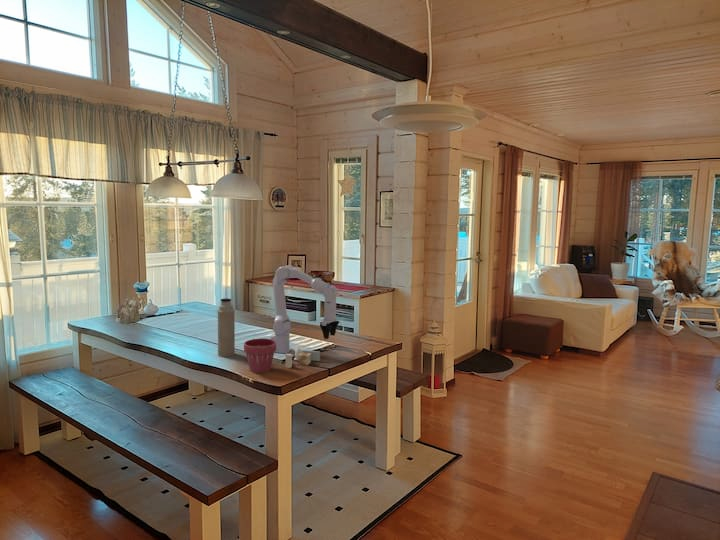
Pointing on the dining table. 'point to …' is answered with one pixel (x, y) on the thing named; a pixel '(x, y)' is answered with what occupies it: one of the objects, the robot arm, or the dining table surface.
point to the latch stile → (288, 360)
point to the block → (304, 358)
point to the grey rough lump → (128, 312)
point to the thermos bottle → (226, 329)
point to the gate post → (297, 353)
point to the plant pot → (260, 354)
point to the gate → (313, 355)
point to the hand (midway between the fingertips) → (329, 337)
